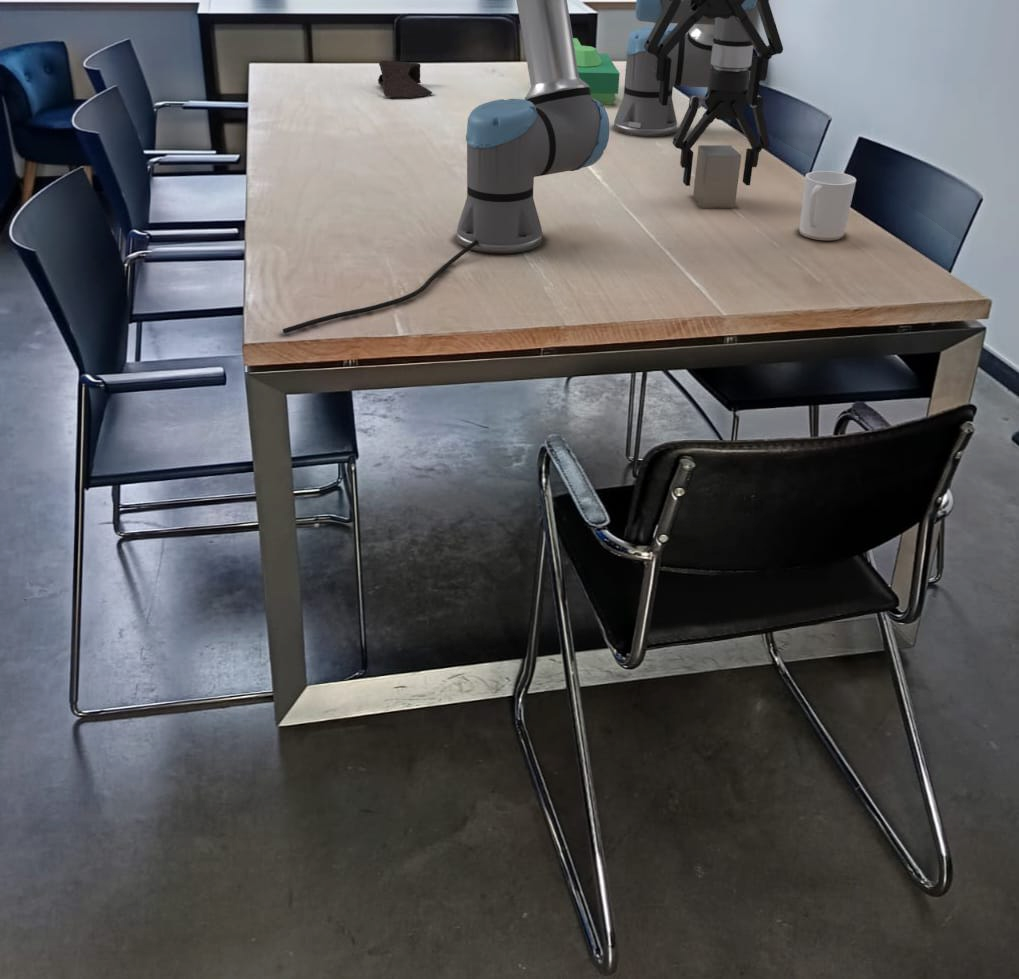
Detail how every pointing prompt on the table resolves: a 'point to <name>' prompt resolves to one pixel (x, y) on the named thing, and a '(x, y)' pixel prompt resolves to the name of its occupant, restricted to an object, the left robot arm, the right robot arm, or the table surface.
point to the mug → (826, 204)
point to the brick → (716, 176)
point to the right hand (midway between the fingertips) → (716, 183)
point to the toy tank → (597, 73)
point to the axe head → (401, 79)
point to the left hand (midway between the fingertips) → (707, 103)
